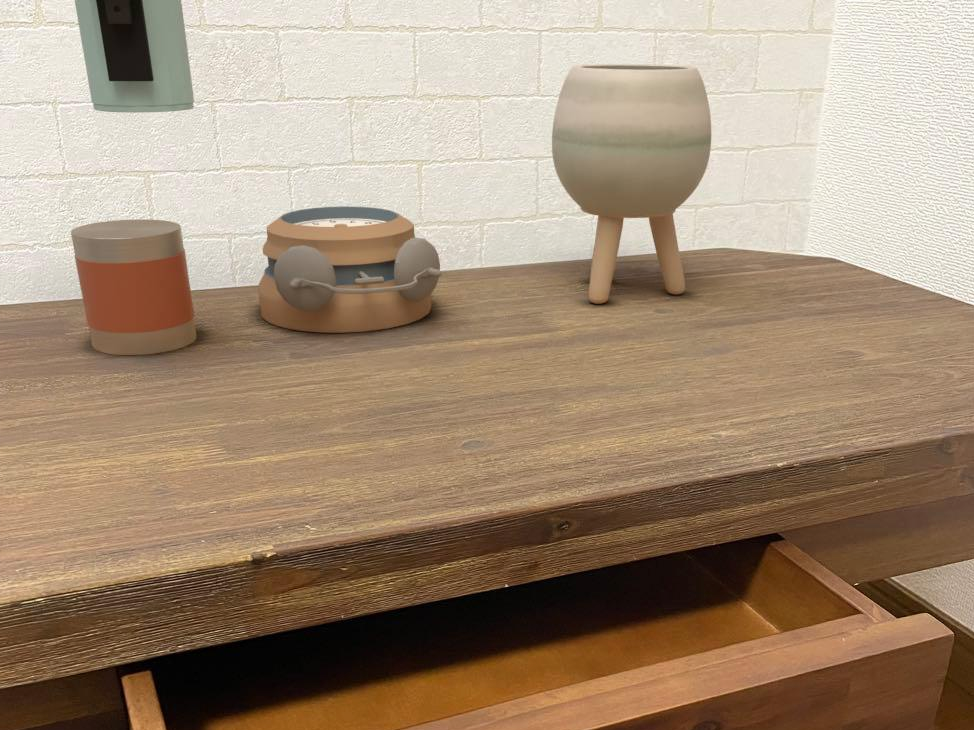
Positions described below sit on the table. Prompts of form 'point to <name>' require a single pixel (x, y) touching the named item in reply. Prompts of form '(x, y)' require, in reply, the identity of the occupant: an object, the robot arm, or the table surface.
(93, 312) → the tin can
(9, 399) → the table surface
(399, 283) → the alarm clock
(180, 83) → the bottle
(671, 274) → the planter
